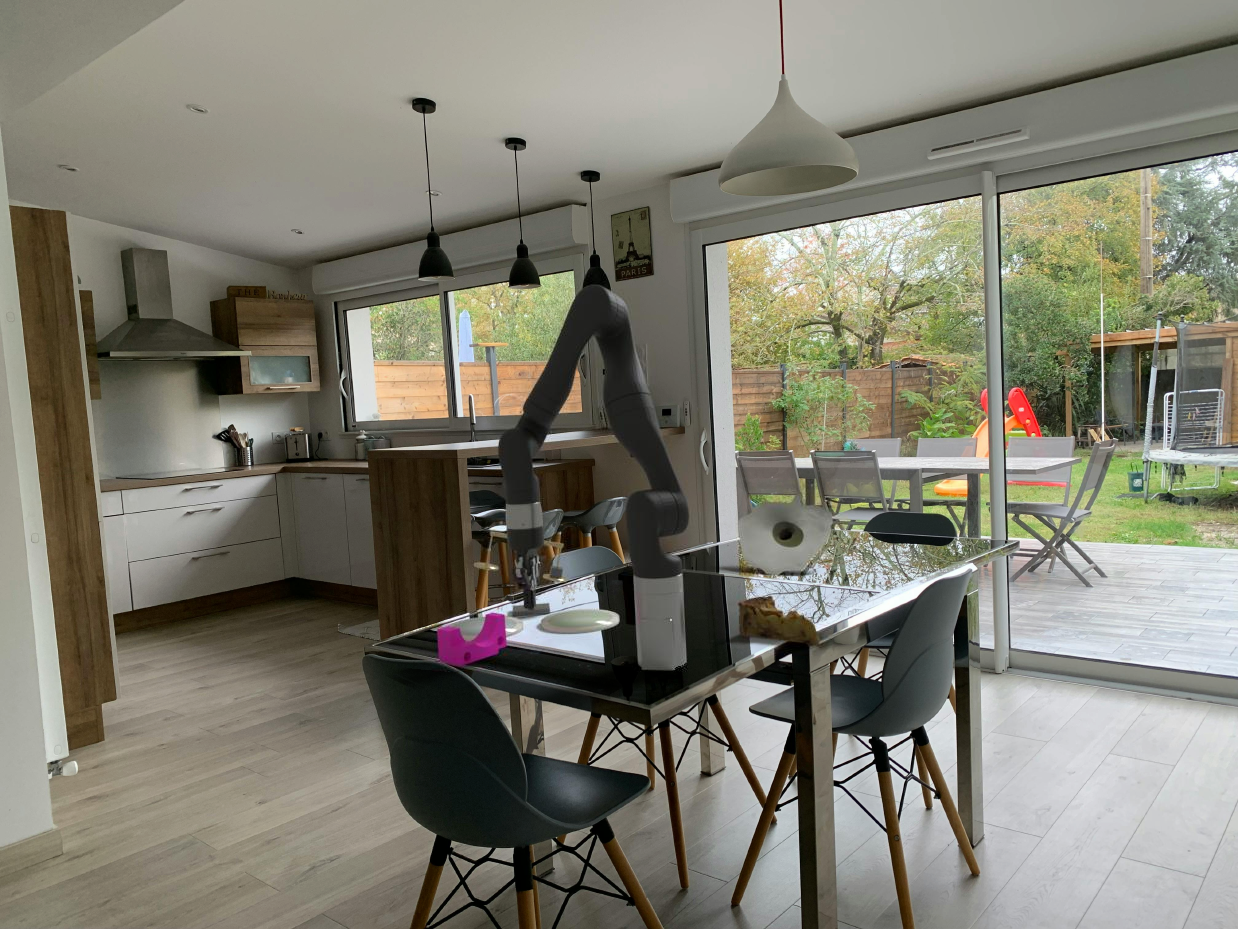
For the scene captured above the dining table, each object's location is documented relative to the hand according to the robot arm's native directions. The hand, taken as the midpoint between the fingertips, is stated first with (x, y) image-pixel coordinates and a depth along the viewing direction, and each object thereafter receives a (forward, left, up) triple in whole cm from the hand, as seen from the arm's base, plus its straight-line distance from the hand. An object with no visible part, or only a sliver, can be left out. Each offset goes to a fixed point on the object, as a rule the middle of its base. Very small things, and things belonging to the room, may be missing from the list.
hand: (530, 607), depth 181 cm
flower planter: (+87, -61, -4) cm, 106 cm away
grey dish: (+14, +16, -9) cm, 23 cm away
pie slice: (+10, -51, -10) cm, 53 cm away
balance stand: (+32, +11, -9) cm, 35 cm away
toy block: (-5, +10, -10) cm, 15 cm away
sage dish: (+21, -4, -9) cm, 24 cm away
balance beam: (+32, +11, +9) cm, 35 cm away
